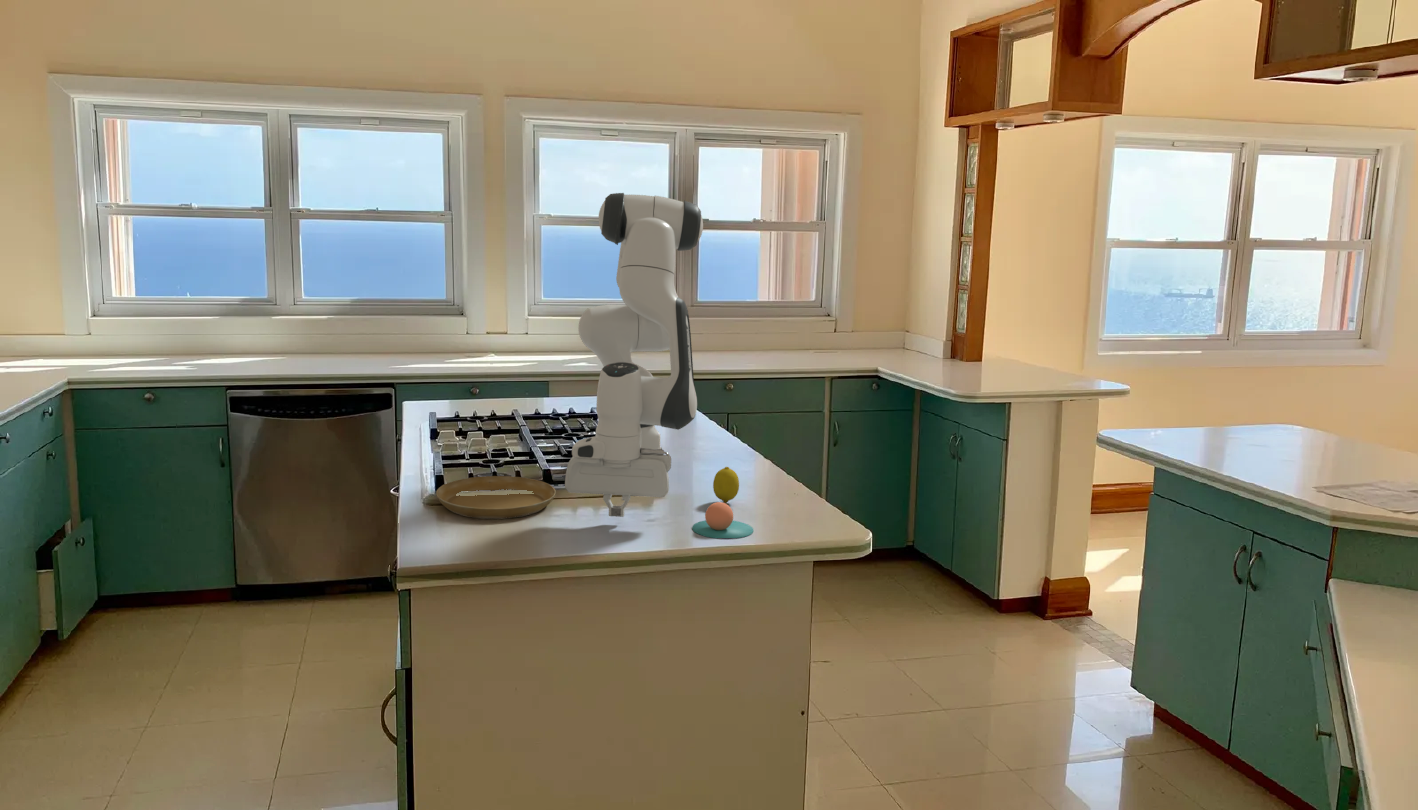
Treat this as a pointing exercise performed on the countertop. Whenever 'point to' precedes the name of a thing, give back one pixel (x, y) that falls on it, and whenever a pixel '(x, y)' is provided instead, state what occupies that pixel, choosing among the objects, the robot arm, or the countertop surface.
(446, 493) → the plant saucer
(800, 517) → the countertop surface
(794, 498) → the countertop surface
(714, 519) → the ball
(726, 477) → the lemon
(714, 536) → the disc
